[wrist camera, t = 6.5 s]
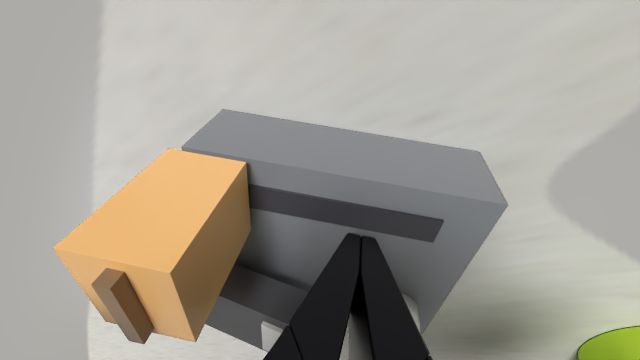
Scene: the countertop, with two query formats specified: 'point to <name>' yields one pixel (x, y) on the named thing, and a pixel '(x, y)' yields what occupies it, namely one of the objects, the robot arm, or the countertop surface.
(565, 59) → the countertop surface
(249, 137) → the panel
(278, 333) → the block
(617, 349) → the soap dispenser
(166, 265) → the orange slider
